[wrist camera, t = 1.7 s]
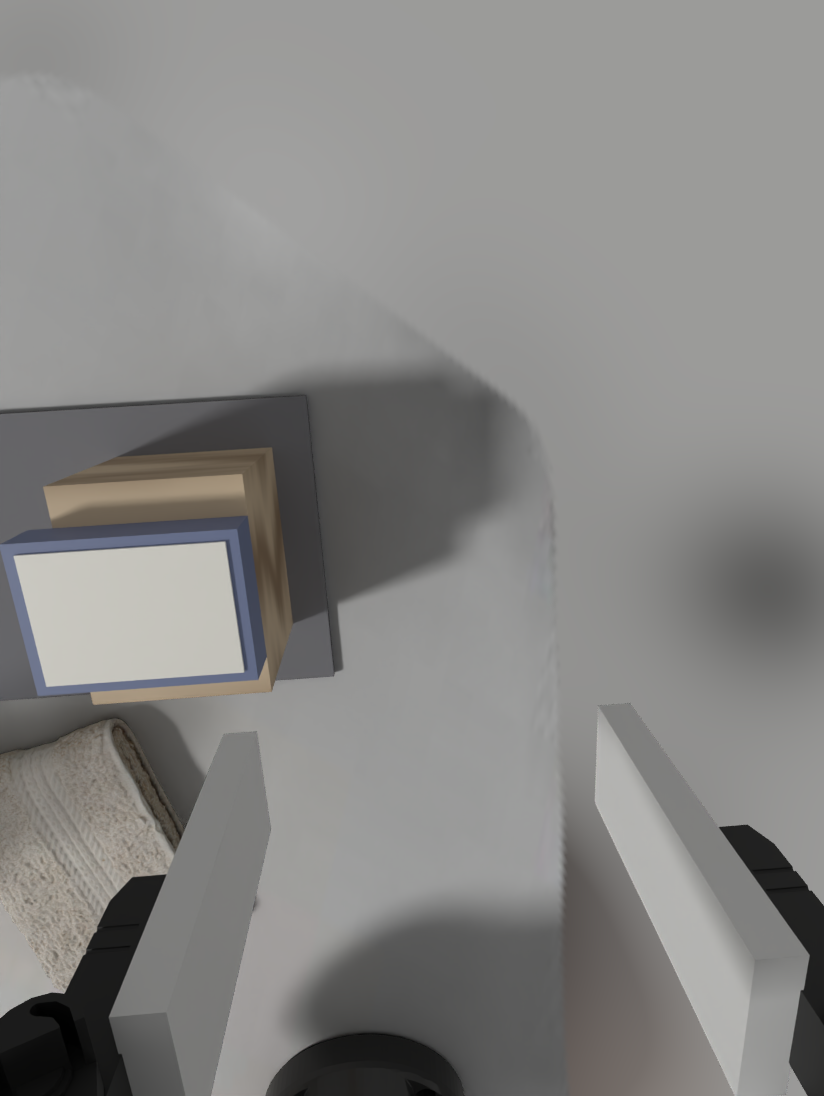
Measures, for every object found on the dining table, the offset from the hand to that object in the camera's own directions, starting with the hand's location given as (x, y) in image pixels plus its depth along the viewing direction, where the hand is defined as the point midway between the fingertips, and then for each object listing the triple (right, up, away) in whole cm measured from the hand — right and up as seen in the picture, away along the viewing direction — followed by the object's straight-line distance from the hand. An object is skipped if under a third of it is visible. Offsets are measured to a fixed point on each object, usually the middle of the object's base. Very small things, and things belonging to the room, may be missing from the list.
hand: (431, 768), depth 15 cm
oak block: (-11, +5, +20) cm, 24 cm away
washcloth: (-20, -14, +26) cm, 36 cm away
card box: (-12, +3, +12) cm, 17 cm away
